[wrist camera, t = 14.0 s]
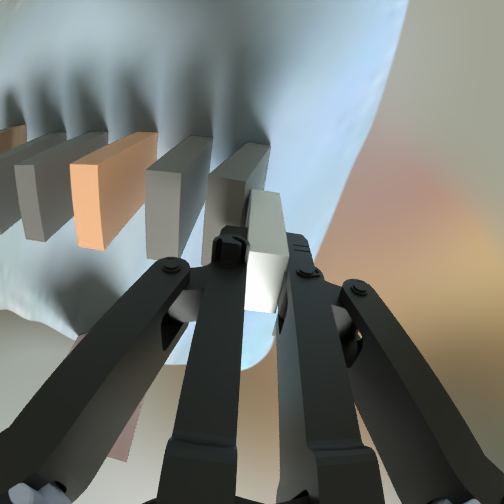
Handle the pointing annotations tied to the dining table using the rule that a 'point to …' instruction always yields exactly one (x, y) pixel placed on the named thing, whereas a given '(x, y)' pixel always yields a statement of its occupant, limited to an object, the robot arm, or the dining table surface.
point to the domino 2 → (51, 185)
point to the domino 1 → (3, 175)
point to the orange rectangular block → (110, 187)
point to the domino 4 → (232, 192)
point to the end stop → (12, 137)
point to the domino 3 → (175, 196)
